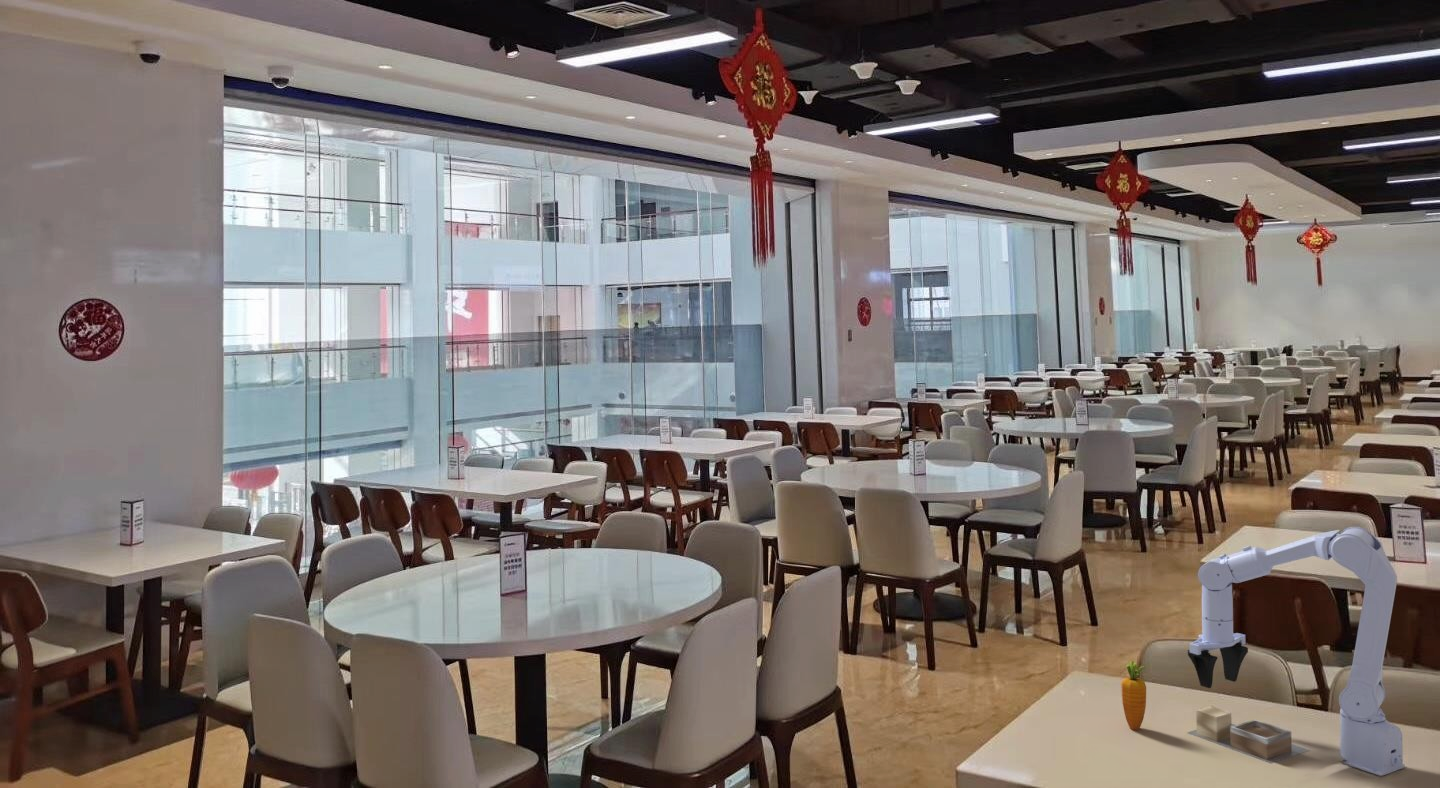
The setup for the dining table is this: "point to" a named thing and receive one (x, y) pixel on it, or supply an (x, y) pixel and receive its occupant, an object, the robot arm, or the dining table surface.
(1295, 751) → the board
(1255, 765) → the dining table surface
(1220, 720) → the maple block
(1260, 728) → the walnut plinth
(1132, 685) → the carrot
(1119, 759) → the dining table surface
